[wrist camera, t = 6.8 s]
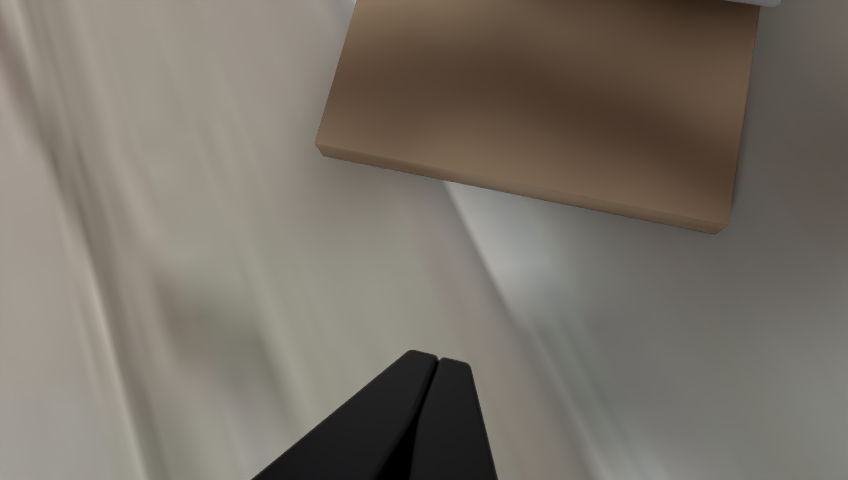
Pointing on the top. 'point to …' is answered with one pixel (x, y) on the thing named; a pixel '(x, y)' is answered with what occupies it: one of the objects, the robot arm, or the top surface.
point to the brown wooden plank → (552, 99)
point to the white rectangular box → (759, 2)
